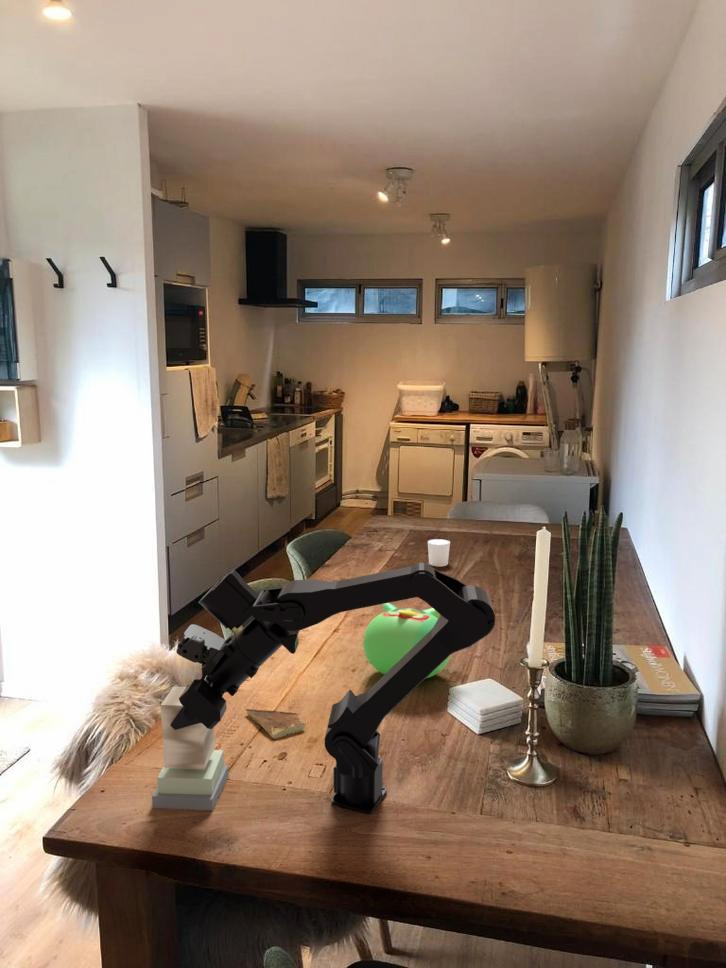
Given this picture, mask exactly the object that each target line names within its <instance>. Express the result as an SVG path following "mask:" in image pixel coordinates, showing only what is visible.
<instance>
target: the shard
mask: <svg viewBox="0 0 726 968" xmlns="http://www.w3.org/2000/svg"><path fill="white" fill-rule="evenodd" d="M245 710H246V713H247V717H249V718H250V719H252V720H253V721H254V722H255V723H257V724H258V725H259V726H261V727H262V728H263V730H265V732H267V734H268V735H269V736H270V738H273V740H275V739H278V738H282V737H285V736H288V735H291V733H292V734H295V732H296V733H300V732H302V731H304V728H305V727H306V724H307V723H306V721H304V720H303V718H301V714H300V713H296V712H286V711H285V712H284V711H279V710H278V711H277V710H267V709H266V710H264V709H263V710H261V709H259V710H258V709H248V708H246V709H245ZM287 734H288V735H287Z"/></svg>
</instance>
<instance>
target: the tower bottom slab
mask: <svg viewBox="0 0 726 968" xmlns="http://www.w3.org/2000/svg"><path fill="white" fill-rule="evenodd" d="M229 775H230V774H229V765H225V764H224V766H223V768H222V771H221V773H220V776H219V779H218V781H217V784H216V786H215V789H214V791H213V794H212V795H203V794H163V793H158V786H157V787H156V789H155V791H154V792H153V794H152V796H151V802H152V808H154V809H155V808H156V809H170V810H171V809H173V810H188V809H189V810H190V811H191V810H192V809H193V810H192V811H206V810H209V812H212V811H214V809H215V807H216V805H215V804H217V803H218V800H219V798H220V796H221V794H222V792H221V791H223V789H224V787H225V785H226V783H227V781H228V779H229ZM227 778H228V779H227ZM226 780H227V781H226ZM225 782H226V783H225ZM224 784H225V785H224ZM223 786H224V787H223ZM222 788H223V789H222ZM220 793H221V794H220ZM219 795H220V796H219ZM218 797H219V798H218ZM217 799H218V800H217ZM216 802H217V803H216ZM194 809H195V810H194ZM210 810H211V811H210Z"/></svg>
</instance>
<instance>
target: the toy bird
mask: <svg viewBox="0 0 726 968" xmlns="http://www.w3.org/2000/svg"><path fill="white" fill-rule="evenodd" d="M381 607H382V610H383V612H382V613H379V614H378V615H376V616H375V617H374V618H373V619H372V620H371V621H369V623H368V625H367V627H366V629H365V632H364V635H363V638H362V639H363V640H362V642H363V643H362V644H363V645H362V646H363V652H364V654H365V657H366V659H367V661H368V663H369V664H370V665H371V666H372V667H373V668H374V669H375V670H376V671H377V672H380V673H381V674H382V675H383V676H384V675H385V674H386V673H387V672H388V671H389V670H390V669H391V668H392V667H393V666H394V665H395V664H396V663H397V662H398V661H399V660H400V659H401V658H402V657H404V656H405V655H406V654H407V653H408V652H409V651H410V650H411V649H412V648H413V647H414V646H415V645H416V644H417V643H418V642H419V641H420V640H421V639H422V638H423V637H424V636H425V635H426V634H427V633H428V632H430V631H431V630H432V628H433V627H434V625H435V623H436V622H437V620H438V618H439V616H440V614H439V613H438V612H437V611H436V610H435V609H433V608H432V607H430V608H426V609H423V610H422V609H417V608H408V607H407V608H403V607H397V606H395V605H394V604H392V603H391V602H390V603H385V604H381ZM451 656H452V654H451V655H450V656H449V657H448V658H447V659H446V660H444V661H443V662H442V663H441V664H440V665H439V666H438V667H437V668H436V669H435V670H434V671H433V672H432V673H431V674H430V675H429V676H428V677H426V678H425V679H424V680H426V679H429V678H431V677H433V676H436V675H437V674H439V673H441V672H442V670H443V669H444V668H445V667H446V665H447V664H448V662H449V660H450V659H451Z"/></svg>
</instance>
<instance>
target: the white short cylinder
mask: <svg viewBox="0 0 726 968" xmlns="http://www.w3.org/2000/svg"><path fill="white" fill-rule="evenodd" d="M450 547H451V541H450V540H447V539H440V538H434V539H429V540H427V550H428V551H427V554H428V564H429V565H430V566H432V567H440V568H441V567H445V566H448V563H449V556H450Z"/></svg>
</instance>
